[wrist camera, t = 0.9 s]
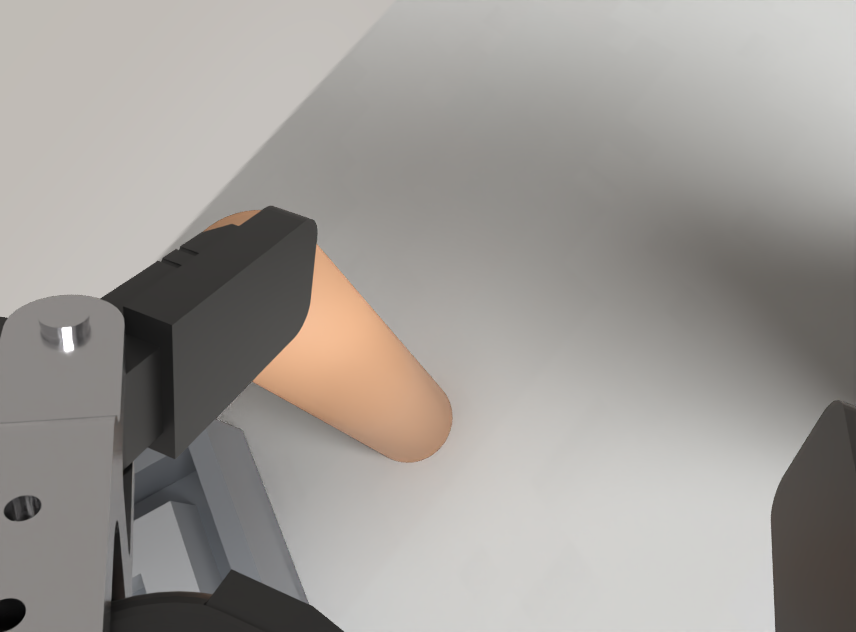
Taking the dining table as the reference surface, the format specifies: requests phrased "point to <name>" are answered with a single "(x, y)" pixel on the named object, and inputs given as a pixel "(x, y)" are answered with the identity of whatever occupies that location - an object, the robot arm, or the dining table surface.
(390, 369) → the peg
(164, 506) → the box
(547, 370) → the dining table surface
